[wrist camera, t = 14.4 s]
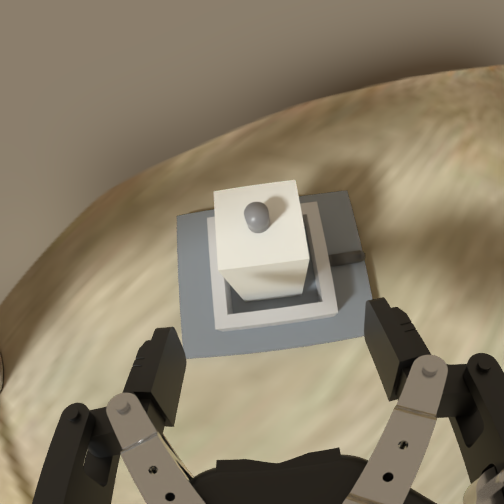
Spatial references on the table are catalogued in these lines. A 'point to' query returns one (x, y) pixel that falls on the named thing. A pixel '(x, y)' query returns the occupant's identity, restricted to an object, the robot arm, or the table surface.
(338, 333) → the charging dock
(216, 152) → the table surface
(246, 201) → the block
